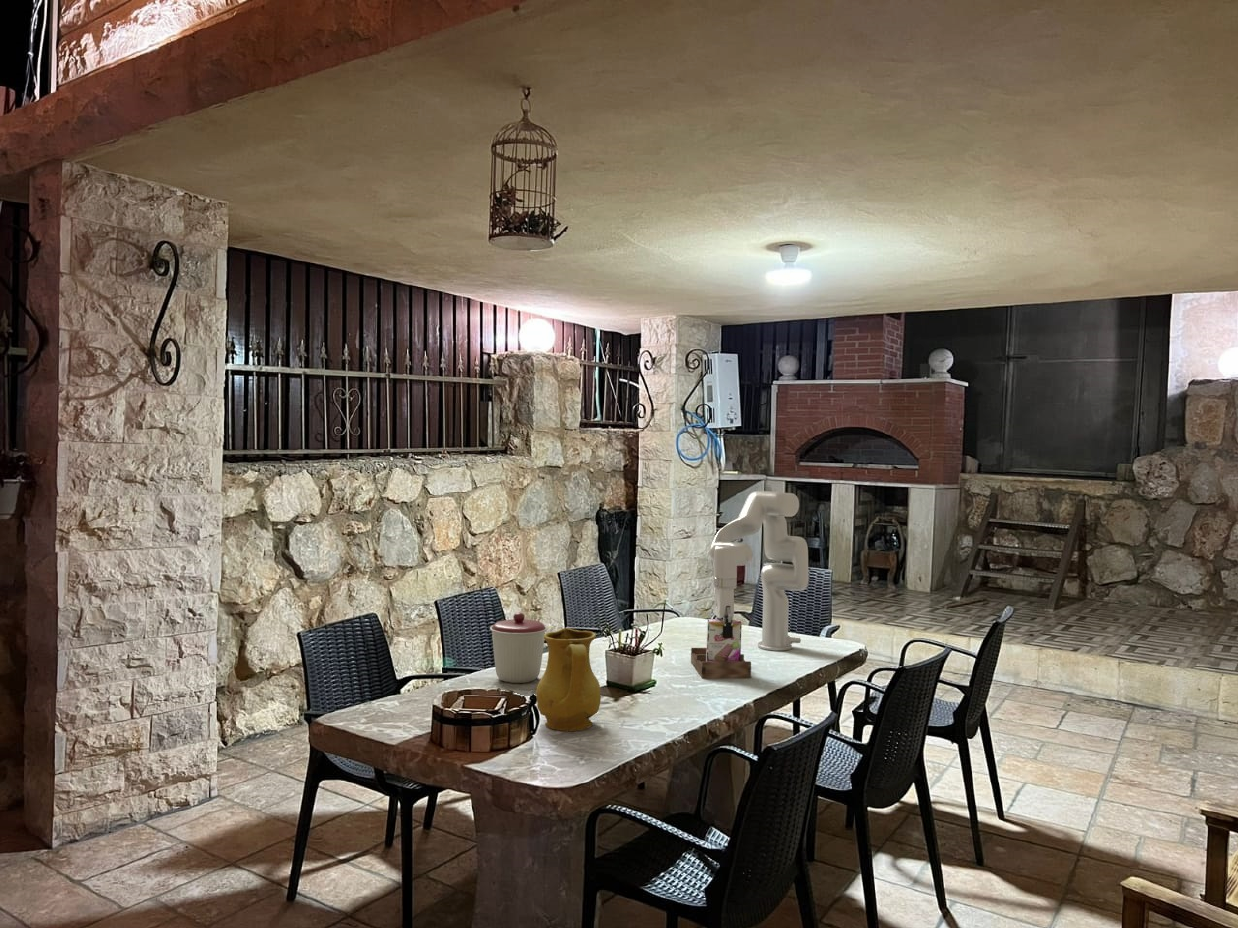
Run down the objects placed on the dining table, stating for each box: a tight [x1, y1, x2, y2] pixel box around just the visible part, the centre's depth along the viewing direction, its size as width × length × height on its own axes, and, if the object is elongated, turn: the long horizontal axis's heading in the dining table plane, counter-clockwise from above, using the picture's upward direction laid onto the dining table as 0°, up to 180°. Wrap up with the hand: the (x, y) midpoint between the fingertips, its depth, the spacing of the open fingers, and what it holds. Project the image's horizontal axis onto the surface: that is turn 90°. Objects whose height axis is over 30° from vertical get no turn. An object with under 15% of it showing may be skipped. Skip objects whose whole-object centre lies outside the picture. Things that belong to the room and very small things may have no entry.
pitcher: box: [535, 627, 602, 732], centre depth 234 cm, size 17×19×25 cm
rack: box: [690, 647, 752, 679], centre depth 296 cm, size 16×21×5 cm
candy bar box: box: [706, 618, 743, 661], centre depth 291 cm, size 11×5×16 cm, turn 87°
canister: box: [489, 612, 548, 684], centre depth 279 cm, size 18×18×21 cm
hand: (724, 634), depth 292 cm, fingers open, 9 cm apart
